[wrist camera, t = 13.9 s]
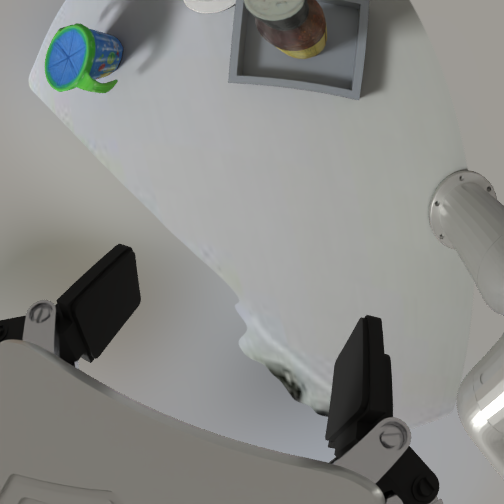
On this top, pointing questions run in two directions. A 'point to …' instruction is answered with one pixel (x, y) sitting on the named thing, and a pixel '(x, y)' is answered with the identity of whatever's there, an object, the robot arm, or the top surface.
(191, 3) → the teacup
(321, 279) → the top surface
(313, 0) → the sauce bottle
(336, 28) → the tray
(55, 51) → the snack cup
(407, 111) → the top surface
